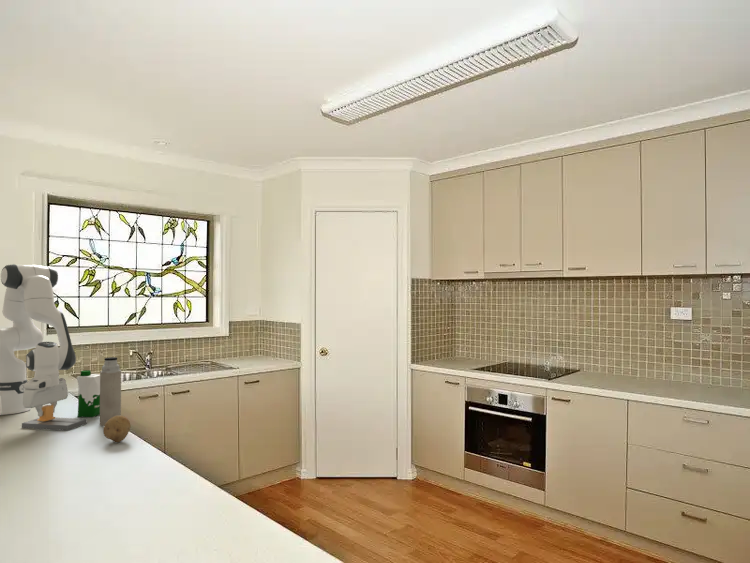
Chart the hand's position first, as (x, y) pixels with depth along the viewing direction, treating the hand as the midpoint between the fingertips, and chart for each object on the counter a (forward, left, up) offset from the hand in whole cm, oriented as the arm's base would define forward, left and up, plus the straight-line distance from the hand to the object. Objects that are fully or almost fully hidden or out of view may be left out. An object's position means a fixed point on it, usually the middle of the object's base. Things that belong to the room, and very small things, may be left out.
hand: (46, 414), depth 218 cm
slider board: (+4, 0, -5) cm, 6 cm away
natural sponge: (+45, -17, -5) cm, 48 cm away
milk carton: (+5, +19, -5) cm, 20 cm away
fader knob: (0, 0, -2) cm, 2 cm away
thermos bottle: (+25, +7, -5) cm, 26 cm away
